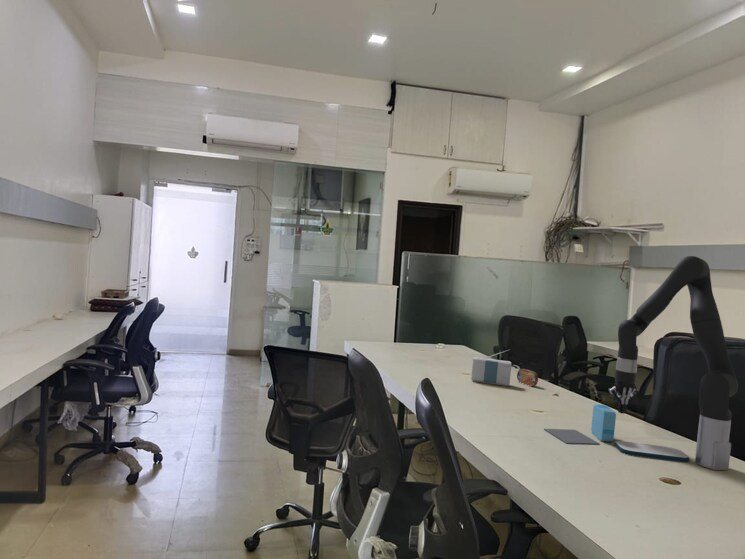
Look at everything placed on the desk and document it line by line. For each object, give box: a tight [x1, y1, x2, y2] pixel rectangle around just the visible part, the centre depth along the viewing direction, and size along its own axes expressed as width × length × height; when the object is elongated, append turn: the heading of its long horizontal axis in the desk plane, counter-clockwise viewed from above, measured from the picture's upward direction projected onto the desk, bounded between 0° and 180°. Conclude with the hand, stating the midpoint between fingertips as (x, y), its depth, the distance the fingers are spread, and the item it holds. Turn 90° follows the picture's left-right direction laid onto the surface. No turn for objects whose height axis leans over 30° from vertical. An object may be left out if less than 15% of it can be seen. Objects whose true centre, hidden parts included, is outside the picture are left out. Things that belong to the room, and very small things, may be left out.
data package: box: [590, 403, 617, 443], centre depth 205 cm, size 12×4×12 cm, turn 175°
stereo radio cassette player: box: [470, 349, 512, 387], centre depth 292 cm, size 21×8×20 cm, turn 73°
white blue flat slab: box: [614, 440, 690, 463], centre depth 191 cm, size 24×12×2 cm, turn 83°
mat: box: [543, 428, 600, 445], centre depth 203 cm, size 16×14×1 cm
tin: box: [516, 368, 539, 387], centre depth 298 cm, size 15×3×8 cm, turn 25°
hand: (621, 412), depth 207 cm, fingers closed
